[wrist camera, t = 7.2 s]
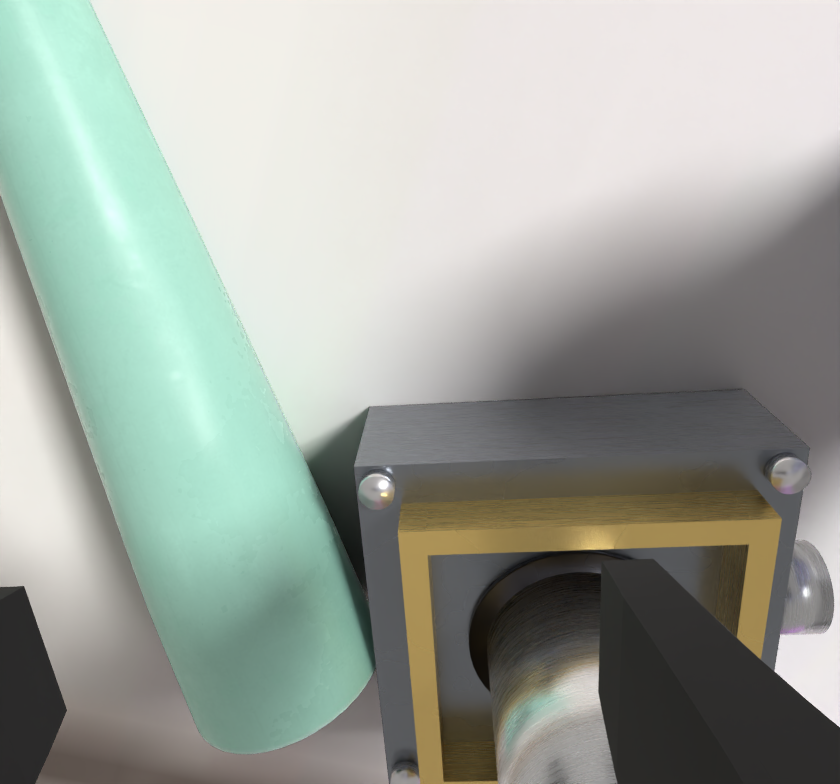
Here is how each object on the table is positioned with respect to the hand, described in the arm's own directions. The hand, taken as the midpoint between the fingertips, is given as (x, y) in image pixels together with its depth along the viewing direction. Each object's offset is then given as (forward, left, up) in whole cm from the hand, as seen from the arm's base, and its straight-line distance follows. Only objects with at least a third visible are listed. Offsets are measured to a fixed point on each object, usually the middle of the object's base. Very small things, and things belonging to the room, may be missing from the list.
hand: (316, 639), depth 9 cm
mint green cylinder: (+6, -5, -11) cm, 14 cm away
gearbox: (-5, +6, -10) cm, 13 cm away
